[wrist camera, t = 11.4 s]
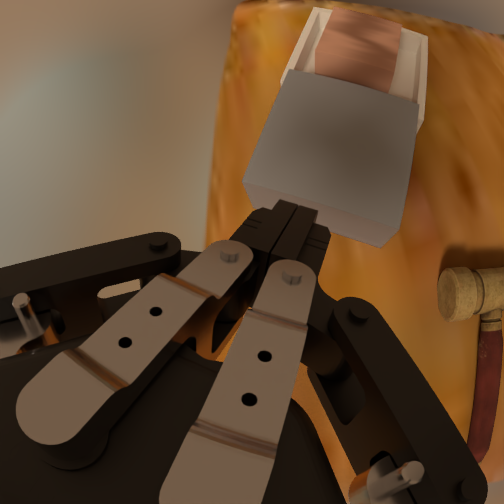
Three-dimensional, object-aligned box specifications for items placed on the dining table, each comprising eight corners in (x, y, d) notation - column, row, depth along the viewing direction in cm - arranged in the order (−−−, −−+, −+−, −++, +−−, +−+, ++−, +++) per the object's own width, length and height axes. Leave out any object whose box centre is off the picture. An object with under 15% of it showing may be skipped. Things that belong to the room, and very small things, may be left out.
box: (420, 57, 31) (427, 36, 27) (412, 141, 29) (423, 120, 25) (314, 29, 34) (314, 6, 30) (283, 104, 32) (280, 80, 28)
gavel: (518, 468, 17) (436, 496, 19) (498, 453, 22) (421, 475, 23) (538, 258, 20) (456, 265, 22) (513, 264, 25) (434, 270, 26)
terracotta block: (380, 117, 29) (390, 68, 30) (394, 72, 22) (402, 24, 23) (314, 98, 30) (332, 51, 31) (314, 50, 23) (334, 6, 25)
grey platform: (403, 138, 29) (419, 104, 23) (380, 248, 27) (399, 229, 21) (292, 106, 31) (288, 68, 26) (253, 208, 30) (241, 181, 24)
